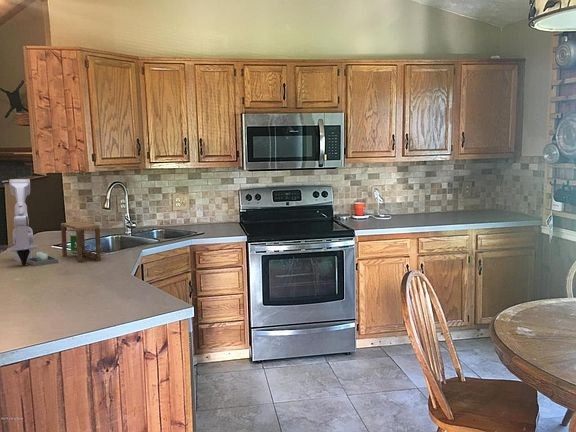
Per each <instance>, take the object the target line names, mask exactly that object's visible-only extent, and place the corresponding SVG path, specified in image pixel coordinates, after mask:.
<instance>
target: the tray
mask: <svg viewBox="0 0 576 432" xmlns="http://www.w3.org/2000/svg"><path fill="white" fill-rule="evenodd" d="M26 264H28V265H31V266H32V267H40V266H46V265H53V264H59V259H58V258H57V257H54V256H52V255H48V260H46V261H39V262H37V259H36V257H32V258H28V259H27V261H26Z"/></svg>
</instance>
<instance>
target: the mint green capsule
mask: <svg viewBox="0 0 576 432" xmlns="http://www.w3.org/2000/svg"><path fill="white" fill-rule="evenodd" d="M48 256H49V255H48V253H43V254H40V261H46V260H48Z"/></svg>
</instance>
